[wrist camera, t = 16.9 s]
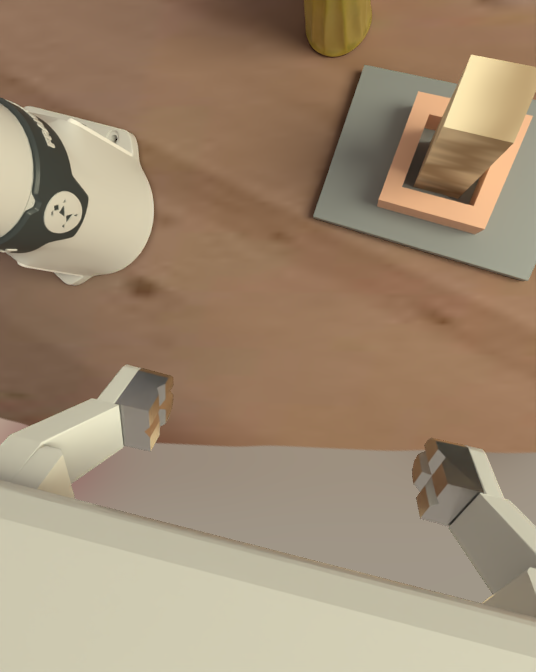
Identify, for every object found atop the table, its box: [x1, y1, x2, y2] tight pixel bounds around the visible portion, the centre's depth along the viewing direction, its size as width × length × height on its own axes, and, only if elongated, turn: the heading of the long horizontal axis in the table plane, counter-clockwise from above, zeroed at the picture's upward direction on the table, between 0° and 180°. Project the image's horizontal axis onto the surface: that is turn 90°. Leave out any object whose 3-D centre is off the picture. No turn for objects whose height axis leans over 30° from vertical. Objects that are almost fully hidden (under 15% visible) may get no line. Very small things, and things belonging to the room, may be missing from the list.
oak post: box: [413, 55, 536, 199], centre depth 26 cm, size 4×4×12 cm
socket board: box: [313, 65, 536, 281], centre depth 32 cm, size 20×14×4 cm
